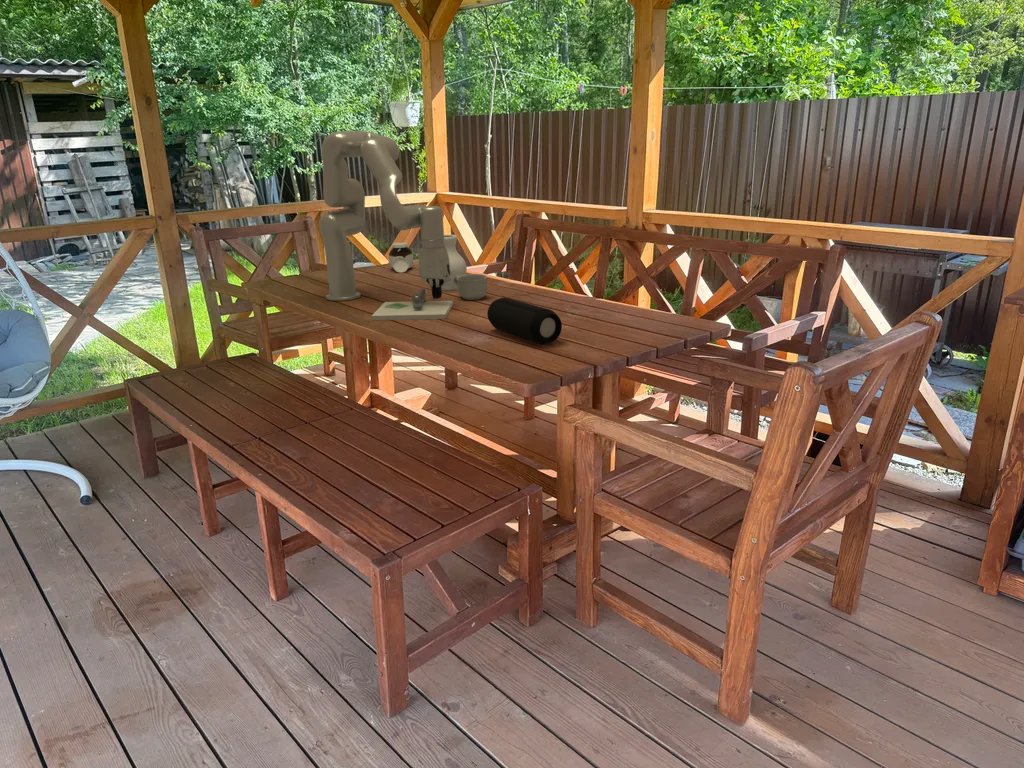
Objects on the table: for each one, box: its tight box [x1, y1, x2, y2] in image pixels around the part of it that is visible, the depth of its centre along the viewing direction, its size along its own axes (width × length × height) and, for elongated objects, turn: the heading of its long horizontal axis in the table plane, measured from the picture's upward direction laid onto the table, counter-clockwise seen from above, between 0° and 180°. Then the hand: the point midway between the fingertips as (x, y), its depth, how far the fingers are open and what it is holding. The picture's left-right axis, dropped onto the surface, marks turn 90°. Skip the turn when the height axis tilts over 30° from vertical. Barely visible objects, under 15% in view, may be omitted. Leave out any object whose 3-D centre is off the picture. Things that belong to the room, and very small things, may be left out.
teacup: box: [453, 273, 488, 301], centre depth 263 cm, size 14×11×8 cm
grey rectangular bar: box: [411, 287, 427, 309], centre depth 247 cm, size 15×3×4 cm, turn 177°
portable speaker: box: [487, 297, 563, 345], centre depth 211 cm, size 26×10×10 cm, turn 35°
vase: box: [441, 234, 468, 292], centre depth 280 cm, size 14×14×20 cm
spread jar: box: [388, 242, 414, 274], centre depth 320 cm, size 12×11×12 cm
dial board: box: [371, 300, 454, 321], centre depth 245 cm, size 20×24×2 cm
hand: (437, 297), depth 249 cm, fingers closed
